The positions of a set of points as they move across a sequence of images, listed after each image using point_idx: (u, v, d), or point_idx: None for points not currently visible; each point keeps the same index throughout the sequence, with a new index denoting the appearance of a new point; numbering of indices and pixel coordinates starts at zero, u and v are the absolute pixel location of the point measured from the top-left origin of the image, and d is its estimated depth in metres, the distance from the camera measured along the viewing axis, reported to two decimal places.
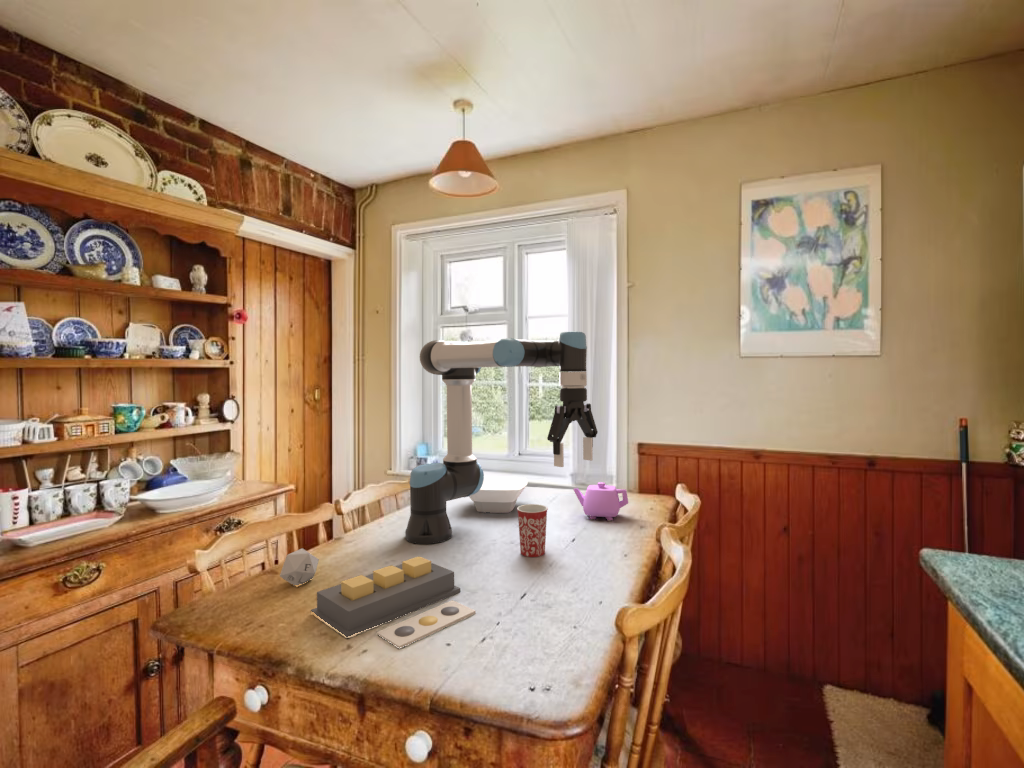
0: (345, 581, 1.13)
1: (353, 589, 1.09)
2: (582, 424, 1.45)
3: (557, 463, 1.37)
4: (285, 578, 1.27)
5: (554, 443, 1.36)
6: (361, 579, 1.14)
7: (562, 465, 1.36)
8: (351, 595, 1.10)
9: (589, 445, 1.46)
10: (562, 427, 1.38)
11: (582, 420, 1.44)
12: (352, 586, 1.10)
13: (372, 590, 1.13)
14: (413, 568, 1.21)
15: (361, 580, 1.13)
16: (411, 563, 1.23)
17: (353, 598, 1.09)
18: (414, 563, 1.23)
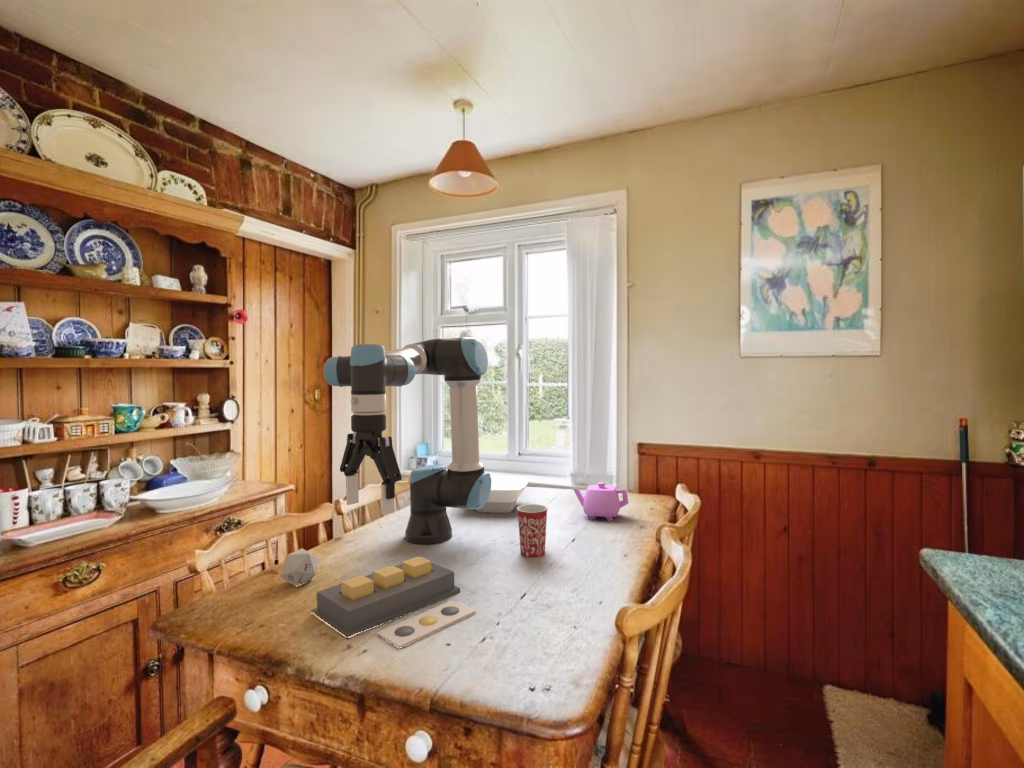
0: (345, 581, 1.13)
1: (353, 589, 1.09)
2: None
3: None
4: (285, 578, 1.27)
5: None
6: (361, 579, 1.14)
7: (347, 502, 1.17)
8: (351, 595, 1.10)
9: None
10: None
11: None
12: (352, 586, 1.10)
13: (372, 590, 1.13)
14: (413, 568, 1.21)
15: (361, 580, 1.13)
16: (411, 563, 1.23)
17: (353, 598, 1.09)
18: (414, 563, 1.23)
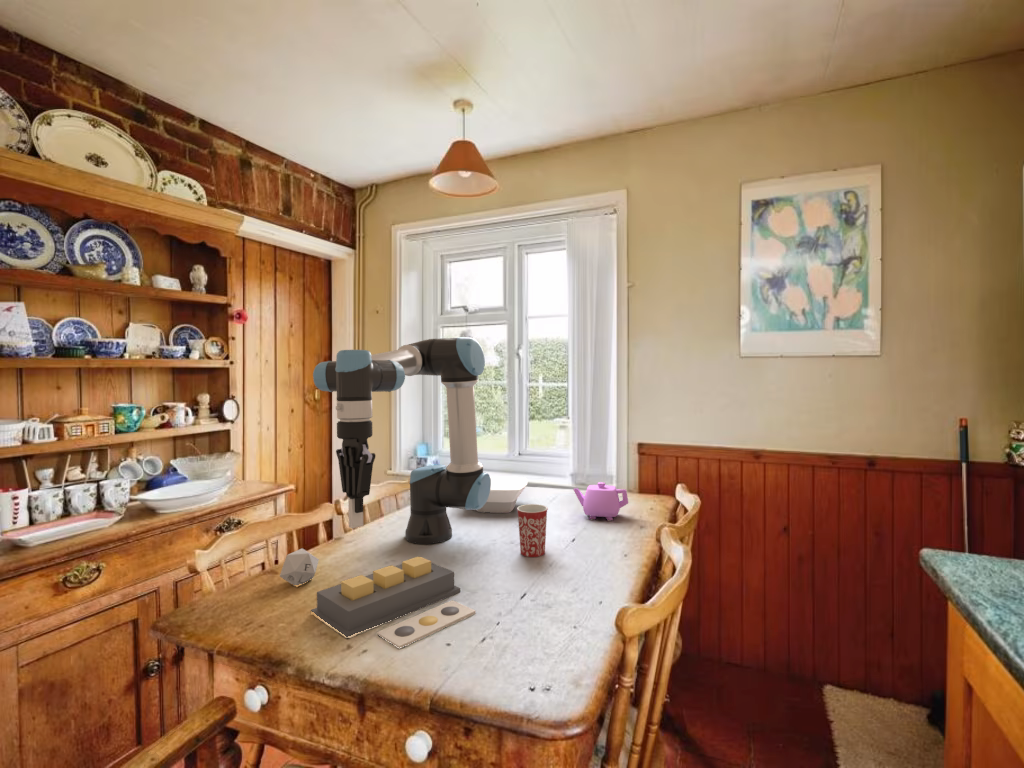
0: (345, 581, 1.13)
1: (353, 589, 1.09)
2: None
3: None
4: (285, 578, 1.27)
5: None
6: (361, 579, 1.14)
7: (349, 525, 1.12)
8: (351, 595, 1.10)
9: None
10: None
11: None
12: (352, 586, 1.10)
13: (372, 590, 1.13)
14: (413, 568, 1.21)
15: (361, 580, 1.13)
16: (411, 563, 1.23)
17: (353, 598, 1.09)
18: (414, 563, 1.23)
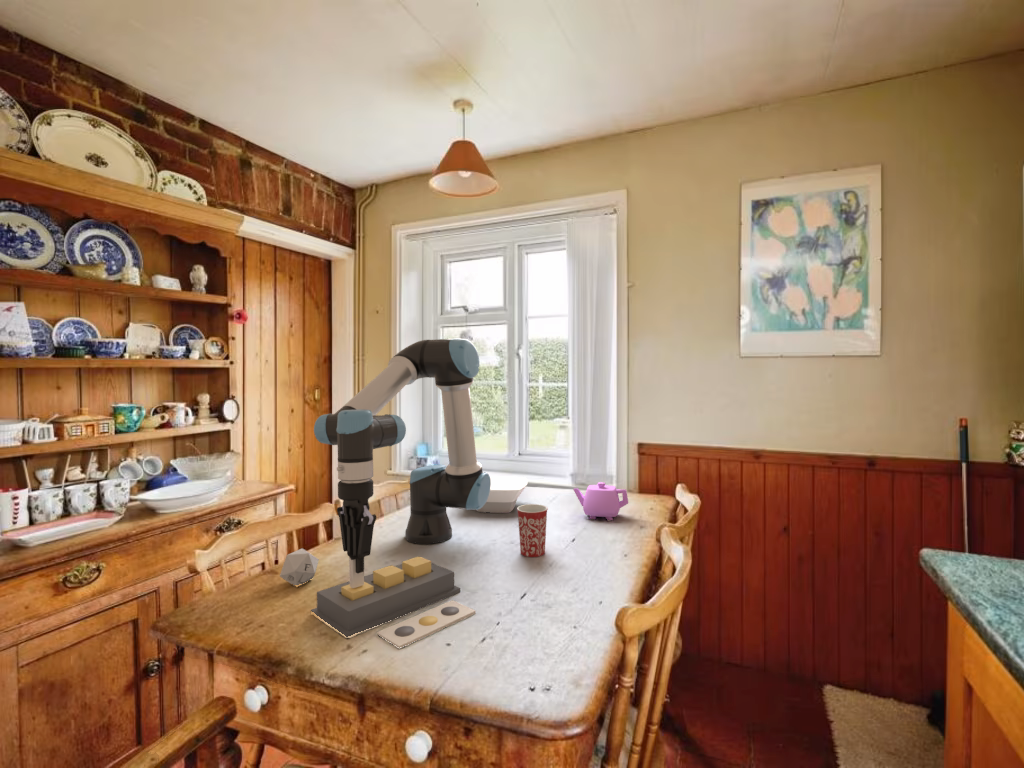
0: (345, 587, 1.13)
1: (353, 595, 1.09)
2: None
3: None
4: (285, 578, 1.27)
5: None
6: None
7: (350, 585, 1.12)
8: (351, 600, 1.10)
9: None
10: None
11: None
12: (352, 592, 1.10)
13: None
14: (413, 568, 1.21)
15: None
16: (411, 563, 1.23)
17: None
18: (414, 563, 1.23)
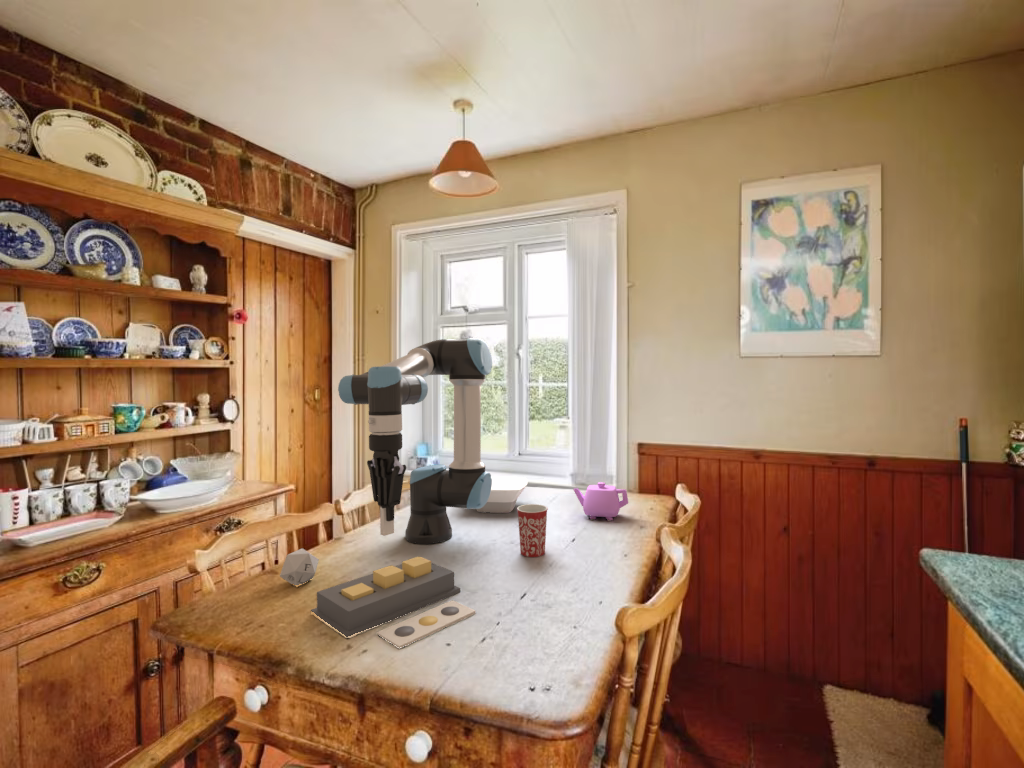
0: (345, 589, 1.13)
1: (353, 597, 1.09)
2: None
3: None
4: (285, 578, 1.27)
5: None
6: (361, 587, 1.14)
7: (381, 532, 1.18)
8: None
9: None
10: None
11: None
12: (352, 594, 1.10)
13: None
14: (413, 568, 1.21)
15: (361, 588, 1.13)
16: (411, 563, 1.23)
17: None
18: (414, 563, 1.23)
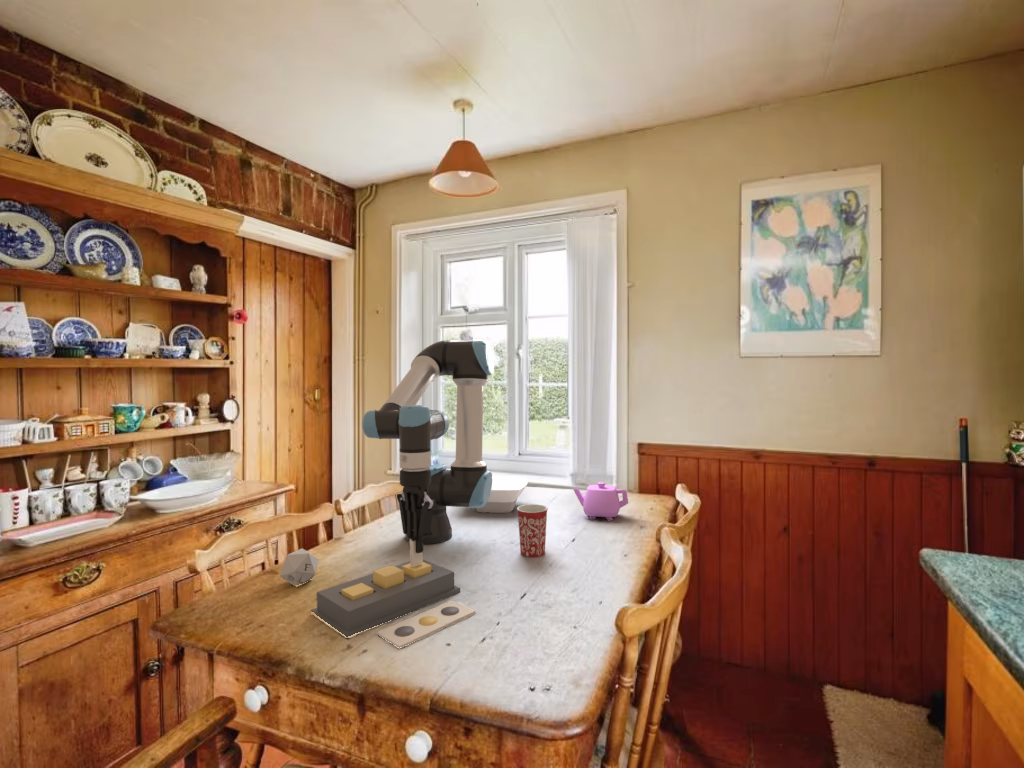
0: (345, 589, 1.13)
1: (353, 597, 1.09)
2: None
3: None
4: (285, 578, 1.27)
5: None
6: (361, 587, 1.14)
7: (410, 564, 1.24)
8: None
9: None
10: None
11: None
12: (352, 594, 1.10)
13: None
14: (413, 572, 1.21)
15: (361, 588, 1.13)
16: (411, 567, 1.23)
17: None
18: (414, 567, 1.23)
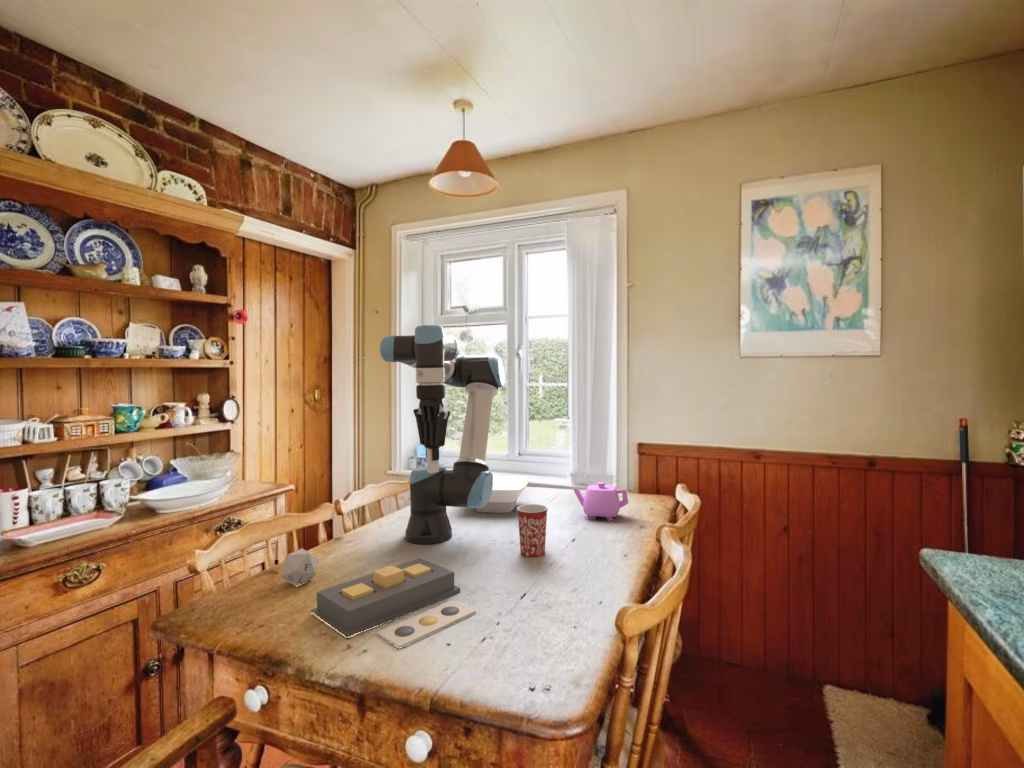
0: (345, 589, 1.13)
1: (353, 597, 1.09)
2: None
3: None
4: (285, 578, 1.27)
5: None
6: (361, 587, 1.14)
7: (428, 471, 1.35)
8: None
9: None
10: None
11: None
12: (352, 594, 1.10)
13: None
14: (413, 576, 1.21)
15: (361, 588, 1.13)
16: (411, 570, 1.23)
17: None
18: (414, 570, 1.23)
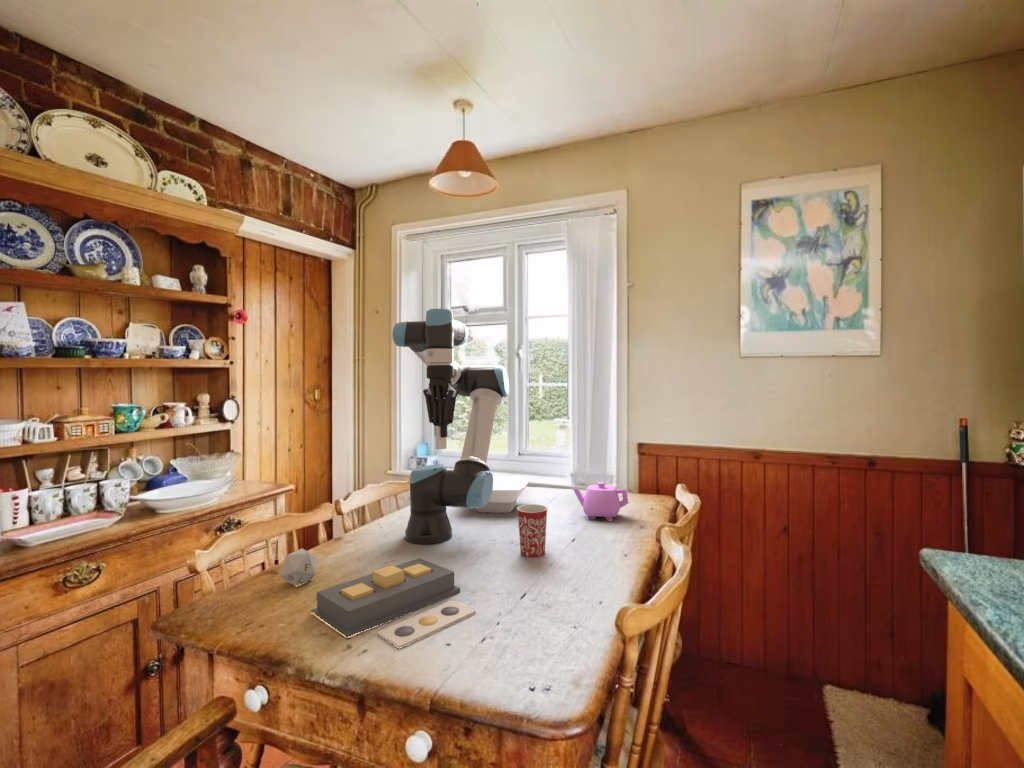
0: (345, 589, 1.13)
1: (353, 597, 1.09)
2: None
3: None
4: (285, 578, 1.27)
5: None
6: (361, 587, 1.14)
7: (436, 447, 1.42)
8: None
9: None
10: None
11: None
12: (352, 594, 1.10)
13: None
14: (413, 576, 1.21)
15: (361, 588, 1.13)
16: (411, 570, 1.23)
17: None
18: (414, 570, 1.23)
